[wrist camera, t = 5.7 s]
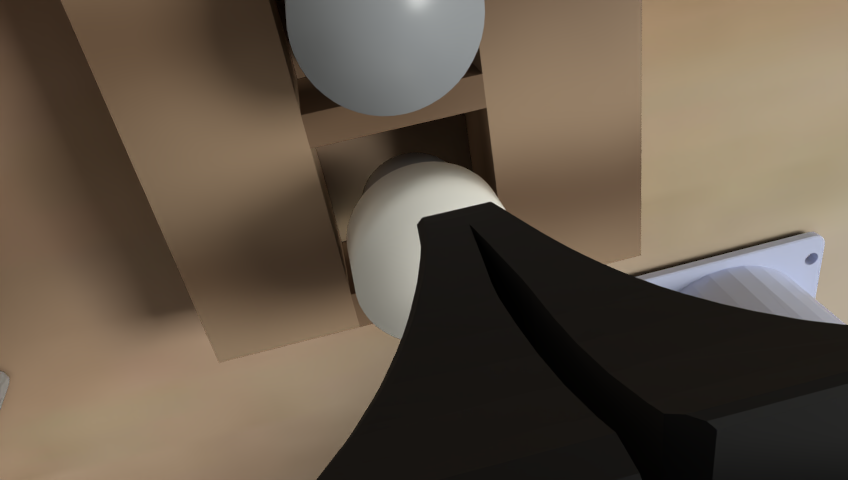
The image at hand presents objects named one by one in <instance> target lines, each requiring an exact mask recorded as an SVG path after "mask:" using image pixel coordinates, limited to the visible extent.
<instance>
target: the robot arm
mask: <svg viewBox="0 0 848 480" xmlns="http://www.w3.org/2000/svg"><path fill="white" fill-rule="evenodd" d="M417 229H418V234H419V239H420V245H421V252H420V264H419V271H418V279H417V285H416V290H415V294H414V298H413V302H412V306H411V310H410V314H409V318H408V321H407V324H406V327H405V330H404V333H403V336H402V339H401V341H400V344H399V346H398V349H397V352H396V354H395V356H394V358H393V361H392V363H391V365H390V367H389V369H388V371H387V374H386V376H385V378H384V380H383V382H382V384H381V386H380V388H379V390H378V391H377V393H376V395H375V397H374V398H373V400H372V402H371V403H370V405H369V407H368V408H367V410H366V411H365V413H364V415H363V416H362V418H361V420H360V421H359V423H358V424H357V426H356V428H355V429H354V431H353V432H352V434H351V435H350V437H349V438H348V440H347V441H346V442H345V444H344V445H343V446H342V448H341V449H340V450H339V451H338V453H337V454H336V455H335V457H334V458H333V459H332V460H331V462H330V463H329V464H328V466H327V467H326V468H325V469H324V471H323V472H322V473H321V475H320V476H319V477H318V478H317V480H848V325H846V324H845V323H844V322H842V321H841V320H840V319H839V318H838V317H836V316H835V315H834V314H833V313H832V312H830V311H829V310H828V309H827V308H825V307H824V306H823V305H822V304H821V303H819V302H818V301H817V300H816V299H815V296H816V291H817V285H818V279H819V274H820V268H821V262H822V257H823V251H824V245H825V240H824V239H823V237H822V236H820V235H819V234H817V233H815V232H807V233H803V234H799V235H796V236H792V237H788V238H784V239H780V240H776V241H772V242H768V243H764V244H761V245H757V246H753V247H749V248H745V249H741V250H737V251H733V252H730V253H726V254H722V255H718V256H714V257H710V258H706V259H702V260H698V261H695V262H691V263H687V264H683V265H679V266H675V267H671V268H667V269H664V270H660V271H656V272H652V273H648V274H644V275H640V276H636V277H634V276H631V275H628V274H626V273H623V272H621V271H618V270H616V269H614V268H611V267H609V266H607V265H604V264H602V263H600V262H598V261H596V260H594V259H592V258H590V257H587V256H585V255H583V254H581V253H579V252H577V251H575V250H573V249H571V248H569V247H567V246H565V245H564V244H562V243H560V242H558V241H556V240H554V239H553V238H551V237H549V236H547V235H546V234H544V233H542V232H540V231H539V230H537V229H535V228H534V227H532V226H530V225H529V224H527V223H525V222H524V221H522V220H520V219H519V218H517V217H515V216H514V215H512V214H511V213H509V212H507V211H506V210H504V209H503V208H501V207H499V206H498V205H496V204H494V203H493V202H486V203H482V204H478V205H474V206H469V207H465V208H461V209H456V210H452V211H448V212H444V213H439V214H435V215H431V216H426V217H422V218H421V220H420V221H419V222H418V224H417ZM809 254H810V255H809ZM808 255H809V256H808ZM807 256H808V257H807ZM806 257H807V258H806Z"/></svg>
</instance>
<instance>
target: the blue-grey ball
mask: <svg viewBox="0 0 848 480" xmlns="http://www.w3.org/2000/svg"><path fill="white" fill-rule="evenodd" d="M285 10H286V23H287V31H288V36H289V41H290V44H291V47H292V50H293V53H294V56H295V58H296V60H297V62H298V64H299V66H300V68H301V69H302V71H303V72H304V74H305V75H306V77H307V78H308V79H309V80H310V81H311V83H312V84H313V85H314V86H315V87H316V88H317V89H318V90H319V91H320V92H321V93H323V94H324V95H325V96H326V97H328V98H329V99H331V100H332V101H333V102H335V103H337V104H339V105H341V106H343V107H345V108H347V109H349V110H352V111H355V112H358V113H362V114H367V115H374V116H395V115H401V114H407V113H410V112H414V111H417V110H419V109H422V108H424V107H426V106H428V105H430V104H432V103H434V102H435V101H437V100H439V99H440V98H441V97H443V96H444V95H445V94H447V93H448V92H449V91H450V90H451V89H452V88H453V87H454V86H455V85H456V84H457V83H458V82H459V81H460V79H461V78H462V77H463V76H464V74H465V73H466V72H467V70H468V68H469V67H470V65H471V63H472V62H473V60H474V57H475V55H476V53H477V51H478V48H479V45H480V42H481V39H482V34H483V28H484V19H485V3H484V0H285Z"/></svg>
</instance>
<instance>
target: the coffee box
mask: <svg viewBox="0 0 848 480" xmlns="http://www.w3.org/2000/svg"><path fill="white" fill-rule="evenodd" d="M9 380H10V379H9V377H8V376H7V375H6V374H5V373H4V372H2V371H0V409H1V406H2V403H3V400H4V397H5V394H6V391H7V388H8V385H9Z"/></svg>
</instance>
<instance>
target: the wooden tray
mask: <svg viewBox="0 0 848 480" xmlns="http://www.w3.org/2000/svg"><path fill="white" fill-rule="evenodd" d="M61 2H62V5H63V7H64V9H65V12H66V14H67V16H68V18H69V21H70V23H71V25H72V28H73V30H74V32H75V34H76V37H77V39H78V41H79V44H80V46H81V48H82V50H83V53H84V55H85V57H86V60H87V62H88V64H89V67H90V69H91V71H92V73H93V76H94V78H95V80H96V83H97V85H98V87H99V89H100V92H101V94H102V96H103V99H104V101H105V103H106V105H107V108H108V110H109V112H110V115H111V117H112V119H113V121H114V124H115V126H116V128H117V131H118V133H119V135H120V138H121V140H122V142H123V144H124V147H125V149H126V151H127V154H128V156H129V158H130V160H131V163H132V165H133V167H134V170H135V172H136V174H137V176H138V179H139V181H140V183H141V186H142V188H143V190H144V192H145V195H146V197H147V199H148V202H149V204H150V206H151V209H152V211H153V213H154V215H155V218H156V220H157V222H158V225H159V227H160V229H161V231H162V234H163V236H164V238H165V241H166V243H167V245H168V247H169V250H170V252H171V254H172V257H173V259H174V261H175V263H176V266H177V268H178V270H179V273H180V275H181V277H182V280H183V282H184V284H185V286H186V289H187V291H188V293H189V296H190V298H191V300H192V302H193V305H194V307H195V309H196V312H197V314H198V316H199V318H200V321H201V323H202V325H203V328H204V330H205V332H206V335H207V337H208V339H209V341H210V344H211V346H212V348H213V351H214V353H215V355H216V357H217V360H218V362H219V363H220V362H224V361H228V360H232V359H236V358H240V357H244V356H248V355H252V354H256V353H260V352H263V351H267V350H271V349H275V348H279V347H283V346H287V345H291V344H295V343H299V342H303V341H307V340H310V339H314V338H318V337H322V336H326V335H330V334H334V333H338V332H342V331H346V330H350V329H354V328H358V327H361V326H365V325H369V324H373V323H372V322H371V321H370V320H369V318H368V317H367V316H366V314H365V313H364V312H363V310H362V308H361V306H360V305H359V302H358V299H357V296H356V292H355V287H354V282H353V276H352V271H351V265H350V260H349V255H348V249H347V241H346V242H342V241H341V238H340V234H339V230H338V227H337V223H336V220H335V216H334V212H333V209H332V205H331V201H330V198H329V194H328V190H327V187H326V183H325V179H324V176H323V172H322V168H321V165H320V161H319V157H318V154H317V150H316V147H320V146H325V145H329V144H333V143H338V142H342V141H346V140H350V139H355V138H359V137H363V136H368V135H372V134H376V133H381V132H385V131H389V130H393V129H398V128H402V127H406V126H411V125H415V124H419V123H423V122H428V121H432V120H436V119H441V118H445V117H449V116H454V115H458V114H462V113H465V118H466V125H467V132H468V139H469V147H470V154H471V161H472V168H473V172H474V173H476V174H477V175H478V176H480V177H481V178H482V179H483V180H484V181H485V182H486V183H487V184H488V185H489V186H490V187H491V188H492V190H493V191H494V193H495V194H496V196H497V197H498V199H499V200H500V202H501V203H502V205H503V207H504V208H505V210H506V211H507V212H509V213H511V214H512V215H514V216H515V217H517V218H519V219H520V220H522V221H524V222H525V223H527V224H529V225H530V226H532V227H534V228H535V229H537V230H539V231H540V232H542V233H544V234H546V235H547V236H549V237H551V238H553V239H554V240H556V241H558V242H560V243H562V244H564V245H565V246H567V247H569V248H571V249H573V250H575V251H577V252H579V253H581V254H583V255H585V256H587V257H590V258H592V259H594V260H596V261H598V262H600V263H602V264H608V263H612V262H616V261H620V260H624V259H628V258H632V257H636V256H640V255H641V90H642V0H484V3H485V19H484V28H483V34H482V39H481V42H480V45H479V48H478V51H477V53H476V55H475V57H474V60H473V62H472V63H471V65H470V67H469V68H468V70H467V72H466V73H465V74H464V76H463V77H462V78H461V79H460V81H459V82H458V83H457V84H456V85H455V86H454V87H453V88H452V89H451V90H450V91H449V92H448V93H447V94H445V95H444V96H443V97H441V98H440V99H439V100H437V101H435V102H434V103H432V104H430V105H428V106H426V107H424V108H422V109H419V110H417V111H414V112H410V113H407V114H401V115H395V116H374V115H367V114H362V113H358V112H355V111H352V110H349V109H347V108H345V107H343V106H341V105H339V104H337V103H335V102H333V101H332V100H331V99H329V98H328V97H326V96H325V95H324V94H323V93H321V92H320V91H319V90H318V89H317V88H316V87H315V86H314V85H313V84H312V83H311V81H310V80H309V79H308V78H307V77H306V78H301V79H297V77H296V73H295V70H294V66H293V62H292V59H291V55H290V51H289V48H288V44H287V40H286V37H285V33H284V29H283V26H282V22H281V18H280V15H279V11H278V7H277V4H276V0H61Z"/></svg>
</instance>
